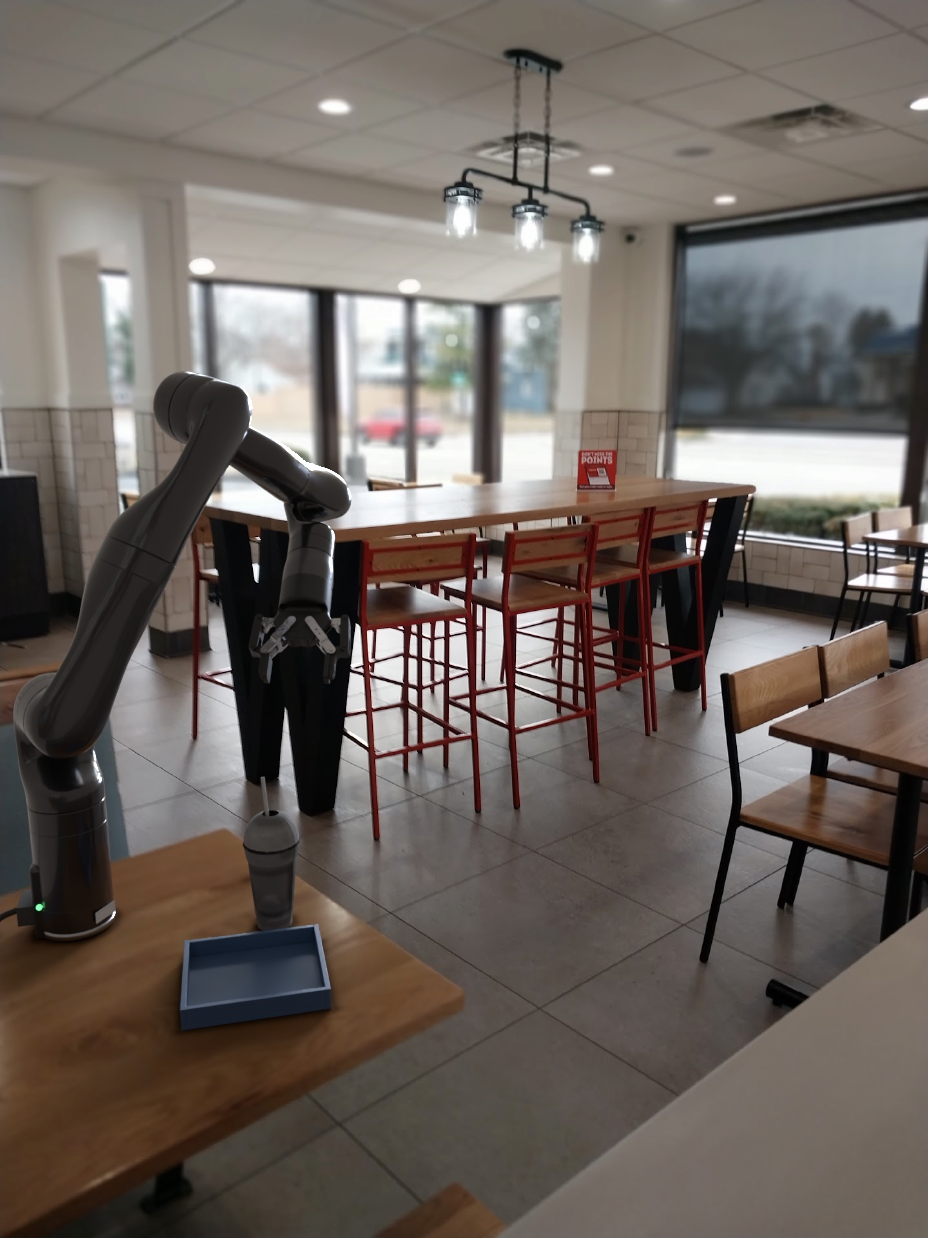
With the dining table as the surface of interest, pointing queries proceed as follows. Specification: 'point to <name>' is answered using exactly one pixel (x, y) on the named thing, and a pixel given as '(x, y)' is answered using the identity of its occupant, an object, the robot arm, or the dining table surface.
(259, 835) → the beverage cup
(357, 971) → the dining table surface
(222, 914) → the dining table surface
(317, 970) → the tray
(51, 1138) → the dining table surface
